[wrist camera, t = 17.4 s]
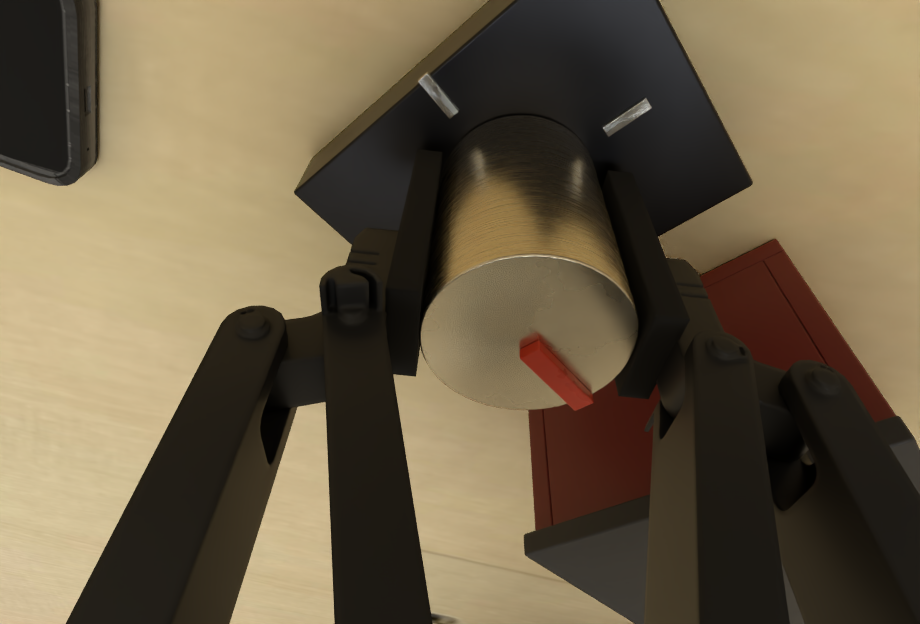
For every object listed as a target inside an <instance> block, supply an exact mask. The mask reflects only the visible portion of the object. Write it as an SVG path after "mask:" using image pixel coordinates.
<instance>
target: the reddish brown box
mask: <svg viewBox="0 0 920 624" xmlns="http://www.w3.org/2000/svg"><path fill="white" fill-rule="evenodd" d="M699 277H700V279H701V281H702V283H703V285H704V286H703V288H705V290H706V292H707V294H708V299H710V301H711V303H712V305H713V308H714V310H715V312H716V314H717V316H718V319H719V321H720V323H721V325H722V327H723V330H724V332H726V333H728V334H731V335H733V336H734V337H736V338H737V339H739V340H740V341H742V342H743V343H744V344H745V345H746V346H747V347H748V349H749V350H750V352H751V355H752V357H753V360H756V361H758V362H761V363H763V364H767V365H770V366H773V367H776V368H779V369H782V370H785V371H788V369H789V368H790V367H791V365H792V364H793V363H795V362H797V361H799V360H813V361H817V362H821V363H823V364H826V365H828V366H830V367H832V368H834V369H835V370H837V371H838V372H839V373H841V374H842V375H843V376H845V378H846V379H847V380H848V381H849V382H850V383H851V385H852V386H853V388H854V389H855V391H856V393H857V394H858V396H859V397H860V399H861V401H862V402H863V404H864V405H865V407H866V409H867V410H868V412H869V414H870V415H871V417H872V418H873V420H874V422H877V421H881V420H884V419H887V418H890V417H893V416H896V415H895V413H894V412H893V410H892V409H891V407H890V406H889V404H888V403H887V401H886V400H885V398H884V397H883V395H882V394H881V392H880V391H879V390H878V388H877V387H876V385H875V384H874V382H873V381H872V379H871V378H870V376H869V375H868V373H867V372H866V370H865V369H864V367H863V366H862V364H861V363H860V362H859V360H858V359H857V357H856V356H855V354H854V353H853V351H852V350H851V348H850V347H849V345H848V344H847V342H846V341H845V339H844V338H843V336H842V335H841V334H840V332H839V331H838V329H837V328H836V326H835V325H834V323H833V322H832V320H831V319H830V317H829V316H828V314H827V313H826V311H825V310H824V308H823V307H822V306H821V304H820V303H819V301H818V300H817V298H816V297H815V295H814V294H813V292H812V291H811V289H810V288H809V286H808V285H807V283H806V282H805V280H804V279H803V278H802V276H801V275H800V273H799V272H798V270H797V269H796V267H795V266H794V264H793V263H792V261H791V260H790V258H789V257H788V255H787V254H786V252H785V251H784V249H783V248H782V247H781V245H780V244H779V242H778V241H777V240H776V239H774V240H772V241H770V242H768V243H766V244H764V245H762V246H760V247H758V248H756V249H754V250H752V251H750V252H748V253H746V254H744V255H742V256H740V257H738V258H736V259H734V260H732V261H730V262H728V263H725V264H723V265H721V266H719V267H717V268H715V269H713V270H711V271H709V272H707V273H705V274H703V275H701V276H699ZM592 395H593V401H594V403H592V404H590V405H588V406H585V407H583V408H581V409H578V410H576V411H575V410H573V409H572V408H571V407H570V406H569V405H568V404H565V405H562V406H557V407H552V408H546V409H536V410H528V412H529V429H530V446H531V462H532V479H533V496H534V513H535V530H539V529H543V528H546V527H549V526H552V525H555V524H558V523H561V522H564V521H568V520H571V519H574V518H577V517H580V516H583V515H586V514H590V513H593V512H596V511H599V510H602V509H605V508H608V507H611V506H615V505H618V504H621V503H624V502H627V501H630V500H633V499H636V498H640V497H643V496H646V495H649V494H650V487H651V466H652V445H653V425H652V427H651V429H650V430H649V432H645V431H644V429H645V426H646V424H647V422H648V420H649V418H650V416H651V415H652V413H653V411H654V409H655V407H656V405H657V404H658V402H659V400H660V398H661V397H660V394H659V390H658V387H657V384H656V386H655V388H654V390H653V392H652V393H651V395H650V397H649V399H641V398H631V397H620V396H618V392H617V387H616V383H615V379H614V380H612V381H611V382H610V383H609V384H607V385H606V386H605V387H603V388H602V389H600V390H598V391H597V392H595V393H593V394H592Z"/></svg>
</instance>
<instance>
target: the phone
mask: <svg viewBox="0 0 920 624" xmlns="http://www.w3.org/2000/svg"><path fill="white" fill-rule="evenodd" d="M96 160H97V3H96V0H0V166H1V167H4V168H7V169H9V170H12V171H15V172H18V173H20V174H23V175H26V176H29V177H31V178H34V179H37V180H40V181H43V182H45V183H49V184H53V185H57V186H67V185H70V184H72V183H75V182H76V181H77V180H78V179H79V178H80V177H82V176H83V175H84V174H85V173H86V172H87V171H89V170H90V169H91V168H92V167H93V166H94V164H95V163H96Z"/></svg>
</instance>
